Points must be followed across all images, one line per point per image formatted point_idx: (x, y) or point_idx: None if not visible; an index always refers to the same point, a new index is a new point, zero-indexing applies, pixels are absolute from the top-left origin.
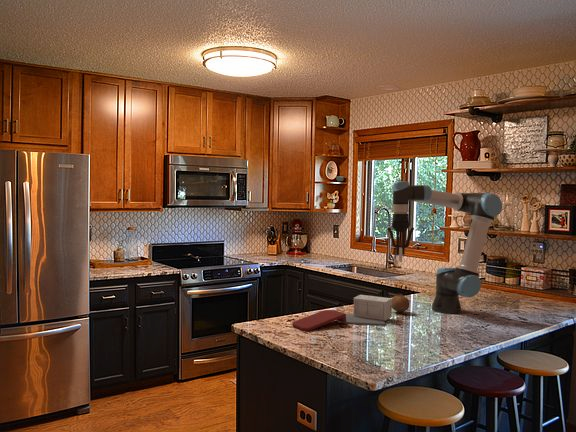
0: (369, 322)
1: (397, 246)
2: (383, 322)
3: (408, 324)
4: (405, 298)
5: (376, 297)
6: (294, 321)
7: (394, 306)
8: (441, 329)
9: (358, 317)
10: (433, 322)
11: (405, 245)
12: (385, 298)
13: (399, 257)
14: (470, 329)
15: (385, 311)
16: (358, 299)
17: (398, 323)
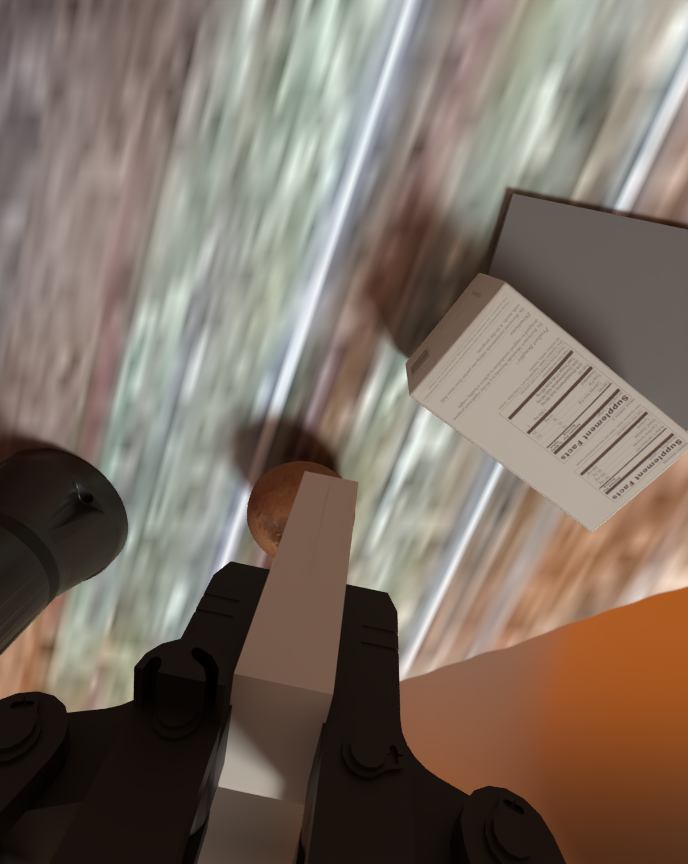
0: (605, 232)
1: (386, 784)
2: (509, 231)
3: (349, 222)
4: (269, 504)
5: (521, 423)
6: None
7: None
8: (182, 84)
9: (616, 364)
10: (186, 268)
11: (70, 782)
12: (465, 385)
13: (346, 526)
14: (7, 85)
15: (491, 277)
16: (667, 415)
17: (403, 248)
